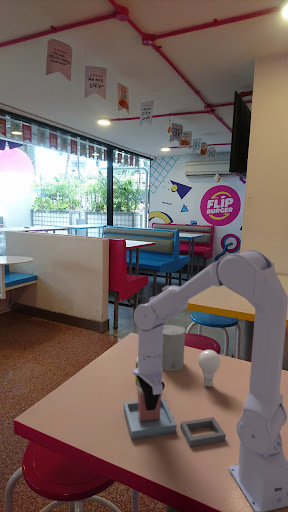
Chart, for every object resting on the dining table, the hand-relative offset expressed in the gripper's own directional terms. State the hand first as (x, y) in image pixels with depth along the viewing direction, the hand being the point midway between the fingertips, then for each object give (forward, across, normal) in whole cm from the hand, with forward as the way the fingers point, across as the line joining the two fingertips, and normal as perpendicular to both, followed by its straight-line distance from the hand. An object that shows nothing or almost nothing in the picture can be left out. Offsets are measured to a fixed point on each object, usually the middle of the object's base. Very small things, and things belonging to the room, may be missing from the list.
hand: (149, 404), depth 73 cm
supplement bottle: (+4, -17, +3) cm, 18 cm away
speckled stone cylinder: (+4, -26, +14) cm, 30 cm away
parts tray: (+4, 0, 0) cm, 4 cm away
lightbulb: (+4, -11, +21) cm, 24 cm away
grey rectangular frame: (+4, +7, +11) cm, 14 cm away
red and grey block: (+3, 0, 0) cm, 3 cm away
